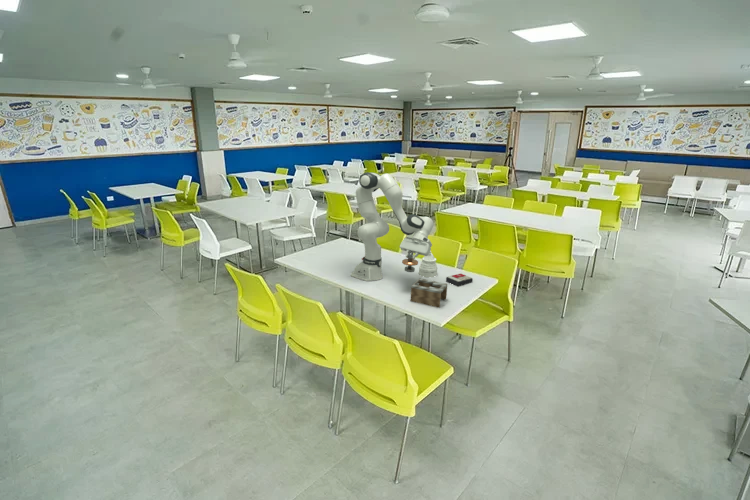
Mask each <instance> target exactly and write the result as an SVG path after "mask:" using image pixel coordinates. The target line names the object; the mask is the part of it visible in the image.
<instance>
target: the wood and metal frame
mask: <svg viewBox="0 0 750 500" xmlns="http://www.w3.org/2000/svg"><path fill="white" fill-rule="evenodd" d="M410 288H411V289H410V302H413V303H418V304H421V305H426V306H430V307H435V308H440V307H441V300H447V295H448V283H447V282H446V283H444V282H441V281H435V280H431V279H425V278H420V277H419V278H418V279H417V280H416V281H415V282H413V284H412V285H411V286H410Z"/></svg>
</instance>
